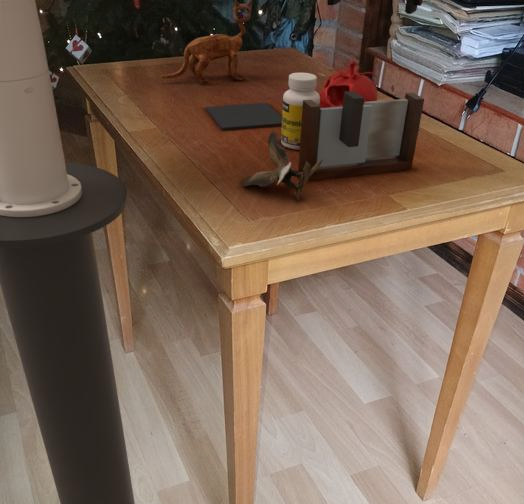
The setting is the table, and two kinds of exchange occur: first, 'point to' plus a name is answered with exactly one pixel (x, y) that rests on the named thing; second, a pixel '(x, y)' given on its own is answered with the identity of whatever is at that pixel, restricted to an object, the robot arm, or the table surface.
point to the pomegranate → (347, 87)
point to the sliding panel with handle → (344, 132)
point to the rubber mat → (245, 116)
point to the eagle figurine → (282, 169)
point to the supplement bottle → (296, 107)
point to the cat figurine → (215, 48)
